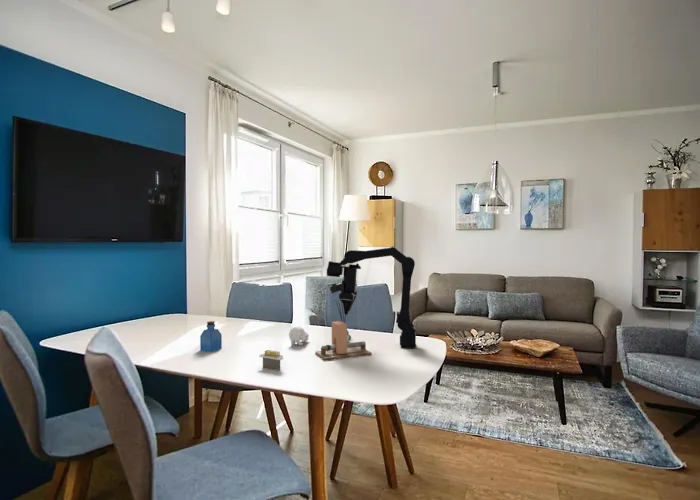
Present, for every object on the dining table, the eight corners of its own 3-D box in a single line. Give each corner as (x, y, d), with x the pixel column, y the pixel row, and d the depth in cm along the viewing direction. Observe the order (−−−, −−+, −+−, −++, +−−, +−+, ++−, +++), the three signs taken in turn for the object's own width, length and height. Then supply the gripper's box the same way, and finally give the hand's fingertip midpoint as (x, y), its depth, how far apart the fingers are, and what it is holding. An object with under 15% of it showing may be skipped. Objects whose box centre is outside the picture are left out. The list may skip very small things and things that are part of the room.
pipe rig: (360, 348, 183) (360, 337, 183) (371, 355, 173) (371, 343, 173) (315, 353, 175) (315, 342, 175) (324, 360, 165) (324, 348, 165)
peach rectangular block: (340, 349, 177) (340, 321, 177) (347, 353, 171) (347, 324, 170) (331, 350, 176) (331, 321, 175) (338, 354, 169) (337, 324, 169)
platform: (264, 361, 165) (264, 345, 165) (302, 368, 157) (302, 350, 157) (243, 370, 155) (242, 352, 154) (282, 377, 146) (282, 358, 146)
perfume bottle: (200, 350, 182) (200, 322, 181) (211, 347, 187) (211, 320, 187) (210, 352, 179) (210, 323, 178) (221, 348, 184) (221, 321, 184)
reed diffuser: (344, 343, 192) (344, 300, 191) (330, 342, 195) (330, 299, 194) (353, 339, 201) (353, 297, 201) (340, 337, 204) (340, 296, 203)
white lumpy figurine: (288, 326, 189) (301, 323, 200) (287, 345, 189) (300, 341, 200) (300, 327, 187) (312, 324, 198) (299, 346, 186) (312, 343, 197)
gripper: (335, 275, 199) (332, 307, 199) (328, 278, 180) (325, 314, 181) (358, 277, 198) (356, 310, 198) (354, 280, 179) (351, 317, 180)
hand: (347, 312), depth 189 cm, fingers open, 9 cm apart
